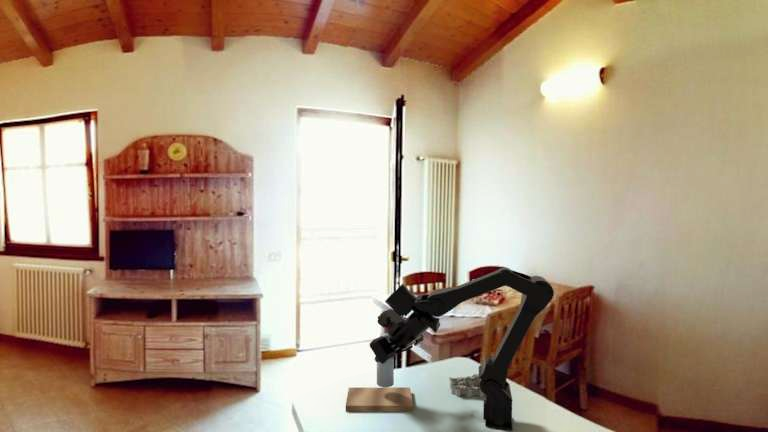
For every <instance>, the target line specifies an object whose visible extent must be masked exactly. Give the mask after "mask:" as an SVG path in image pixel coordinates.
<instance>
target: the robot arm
mask: <svg viewBox="0 0 768 432" xmlns="http://www.w3.org/2000/svg"><path fill="white" fill-rule="evenodd" d="M503 287H508V288H511V289H512V290H514V291H515V292H516V291H517V292H518V293H520V294H521V298H520V303H519V307H518V309H517V311H516V312H515V315H514V316H513V319H511V320H512V321H511V322H510V324H509V326H508V328H507V330H506V332H505V334H504V336H503V337H502V340H501V342H500V343H499V345H498V347H497V348H496V351H495V353H493V355H492V356H490V357H489V355H488V356H487V355H484V356H483V359H482V360H483V361H482V363H481V364H480V365H479V366H478V374H479V382H480V386H479V388H480V389H481V391H482V392H483V393H484V394H485V395H484V396H485V398H484V399H483V420H484V423H485V424H484V425H485V427H487V428H491V429H493V428H494V429H500V430H507V431H513V427H514V426H513V395H512V392H511V385H510V383H509V382H508V381H507V378H508V374H509V373H508V372H509V369H510V365H511V364H512V361H513V359H514V357H515V356H516V354H517V352H518V350H519V348H520V346H521V345H522V343H523V342H524V339H525V337H526V335H527V333H528V331H529V329H530V328H531V326H532V324H533V322H534V320H535V318H536V317H537V316H538V315H539V314H541V313H542V312H543V311H544V310H545V309H546V308H547V306H548V305H549V303H550V302H551V301H552V300H553V299H554V295H555V292H554V289H553V286H552V285H551V283H549V282H548V280H546V278H544V277H542V276H540V275H534V276H531V275H528V274H525V273H522V272H520V271H519V272H518V271H516V270H513V269H510V268H509V267H505V266H504V267H500V268H499V269H497V270H495V271H493V272H490V273H487V274H485V275H482V276H479V277H477V278H474V279H472V280H469V281H467V282H465V283H462V284H460V285H456V286H449V287H443V288H437V289H433V290H432V291H430V292H429V293H426V294H420V295H417V296H416V295H415V294H414V293H413V292H412V291H411V290H410V289H408V287H407V286H406V285H405V283H401V285H400V286H398V288H396V289H395V290H394V291H393V292H392V293H391V294H390V295H389V297H387V298H386V299H385V301H384V302H385V304H387V305H388V306H389V307H390V308H389V309H386V310H384V311H382V313H380V314H379V315H378V316H377V324H378V325H379V326H381V327H382V328H386V329H387V330H389V331H388V332H387V333H388V334H389V335H390V338H389V341H390V343H389V342H388V341H387V339H386V338H385V337H383V336H378V337H376V338H374V339H373V340H372V341H370V342H369V347H370V349H371V351H372V352H373V354H374V355H375V357H374V361H375V362H376V363H377V362H380V363H382V364H384V363H386V362H387V361H389V360H391V359H393V358H394V359H395V356H396V355H397V354H400V353H404V352H407V351H409V350H411V349H412V348H413V347H416V346H418V345H419V344H421V343H422V342H423V341H424V333H425V332H426V331H427V330H429V328H430V329H431V330H432V331H433V332H434V333H438V332H437V331H438V330H439V328H440V326H441V322H440V318H439V317H442V316H444V315H446V314H447V313H449V312H451V311H452V310H454V309H455V308H457V307H458V306H459V305H460V304H462V303H464V302H467V301H469V300H472V299H474V298H477V297H479V296H482V295H484V294H487V293H490V292H492V291H494V290H497V289H499V288H503ZM411 312H412V313H411ZM409 314H410V315H409ZM408 315H409V316H408ZM403 317H407V318H405V319H404V318H403ZM392 347H393V348H392Z"/></svg>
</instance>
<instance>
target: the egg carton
mask: <svg viewBox="0 0 768 432" xmlns="http://www.w3.org/2000/svg"><path fill="white" fill-rule="evenodd" d="M448 381H449V388H450V390H451V392H450V393H451V395H454V396H455V397H460V396H461V395H465V396H466V397H473V396H479V397H480V398H484V396H486V395H485V394H484V393H483V392H482V391H481V389H480V382H479V373H478V374H476V373H475V374H472V376H469V375H468V376H459V377H449V380H448ZM478 386H479V387H478Z"/></svg>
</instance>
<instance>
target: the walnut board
mask: <svg viewBox="0 0 768 432" xmlns="http://www.w3.org/2000/svg"><path fill="white" fill-rule="evenodd" d="M412 397H413V396H412V390H411V387H410V386H409V387H395V386H394V387H393V386H390V387H348V390H347V396H346V402H345V411H346V412H413V411H414V403H413V398H412Z"/></svg>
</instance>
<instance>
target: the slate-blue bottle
mask: <svg viewBox="0 0 768 432" xmlns="http://www.w3.org/2000/svg"><path fill="white" fill-rule="evenodd" d="M380 336H383V337H385V338H386V339H387V341H388V342H389V343H390V341H389V338H391V336H390V335H389V334H388V332H382V333H381V334H380ZM380 336H379V337H380ZM392 348H393V347H392ZM394 359H395V358H393V359H391V360H389V361H387V362H386V363H384V364H382V363H380V362H376V384H377V386H378V387H379V388H387V387H393V386H394V382H395V378H394V377H395V373H394V370H395V369H394V367H395V365H394V364H395V363H394V362H395V361H394Z"/></svg>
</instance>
